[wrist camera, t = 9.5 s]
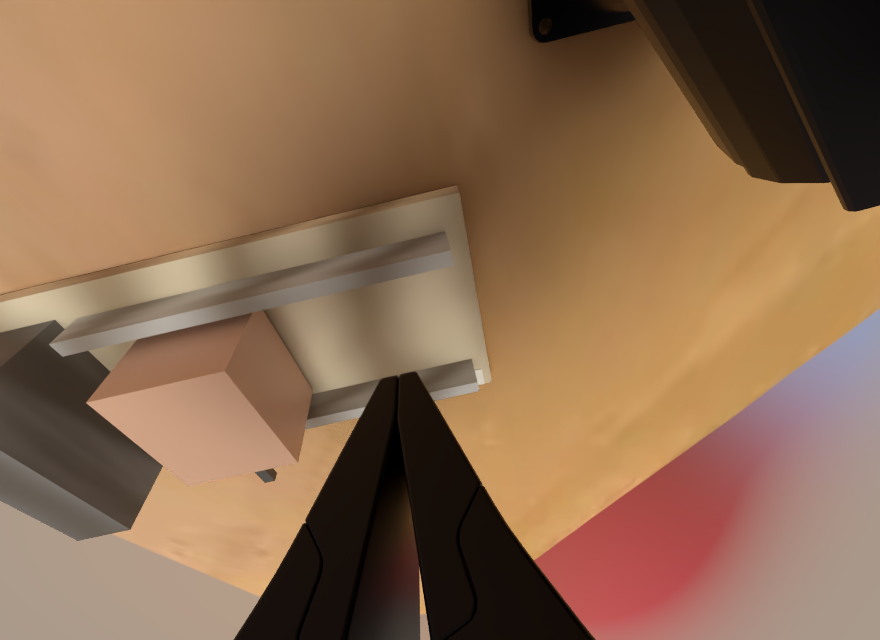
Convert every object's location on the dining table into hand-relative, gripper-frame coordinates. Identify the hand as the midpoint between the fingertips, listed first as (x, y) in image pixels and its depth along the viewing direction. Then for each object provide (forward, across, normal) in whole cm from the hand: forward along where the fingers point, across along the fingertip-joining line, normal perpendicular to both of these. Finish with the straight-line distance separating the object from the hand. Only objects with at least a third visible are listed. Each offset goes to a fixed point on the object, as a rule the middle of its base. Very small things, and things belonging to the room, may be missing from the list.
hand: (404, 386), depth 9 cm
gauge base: (+12, +9, +6) cm, 16 cm away
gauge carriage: (+11, +11, +8) cm, 17 cm away
